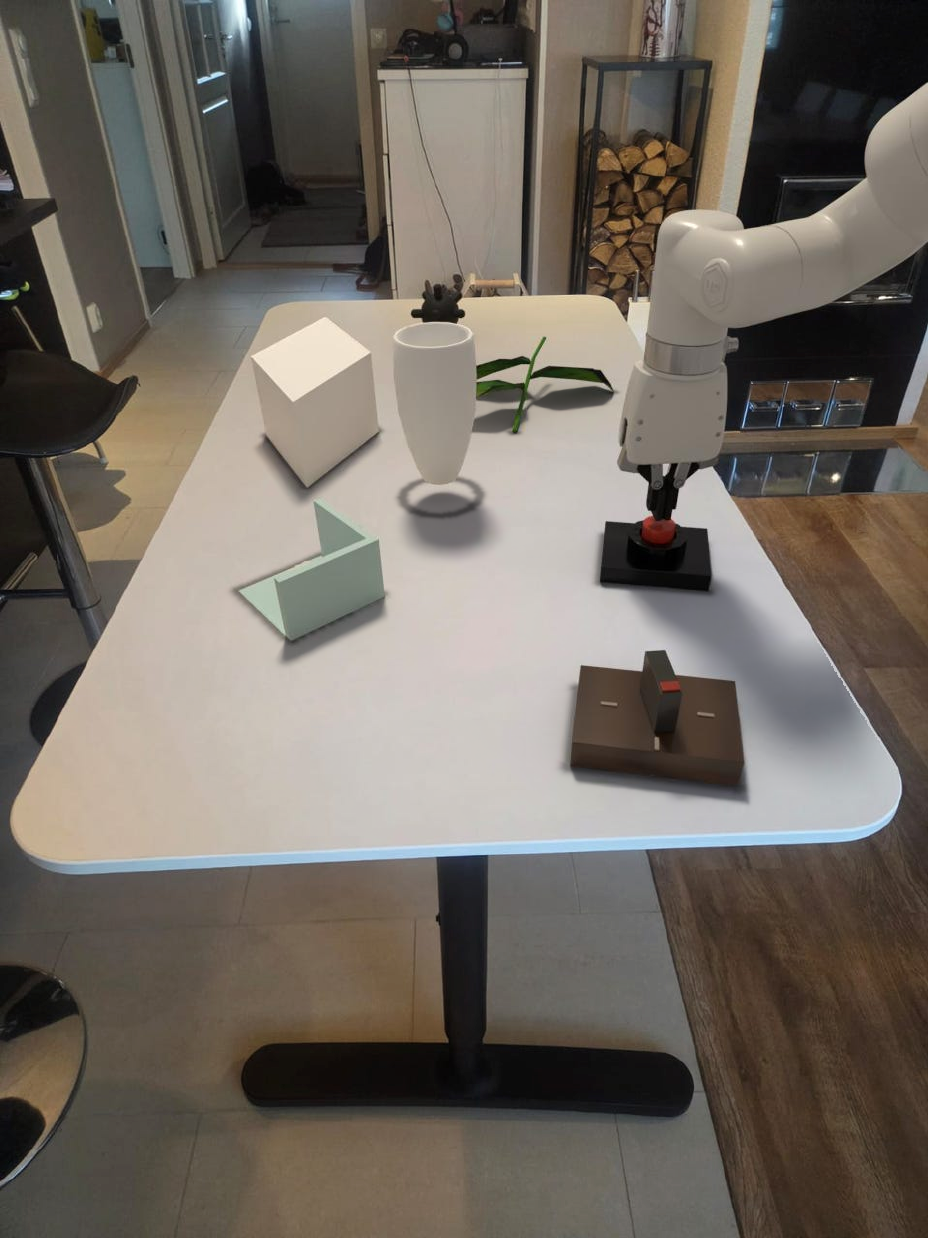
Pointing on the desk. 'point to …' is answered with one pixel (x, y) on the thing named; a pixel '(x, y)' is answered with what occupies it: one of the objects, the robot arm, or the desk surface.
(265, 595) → the right angle wall
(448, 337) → the cup
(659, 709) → the handle
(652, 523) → the button
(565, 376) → the plant
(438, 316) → the toy ball
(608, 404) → the desk surface
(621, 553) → the button block
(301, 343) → the block
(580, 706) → the panel
